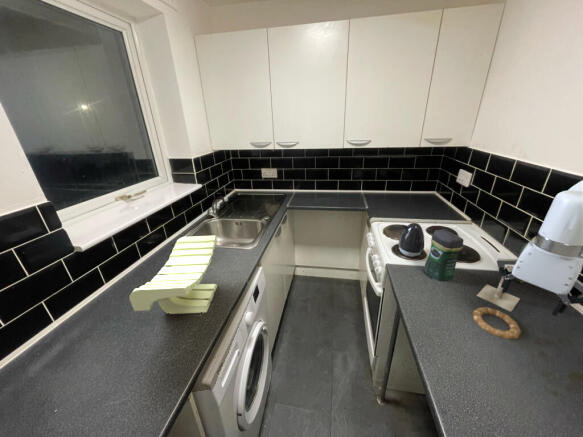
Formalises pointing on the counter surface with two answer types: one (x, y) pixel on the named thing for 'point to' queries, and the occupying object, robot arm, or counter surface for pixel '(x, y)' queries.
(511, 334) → the ring
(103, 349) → the counter surface
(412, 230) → the black egg shaped dome
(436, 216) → the counter surface
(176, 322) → the counter surface
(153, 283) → the slatted lounge chair
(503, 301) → the post
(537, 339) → the counter surface
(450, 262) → the coffee jar
